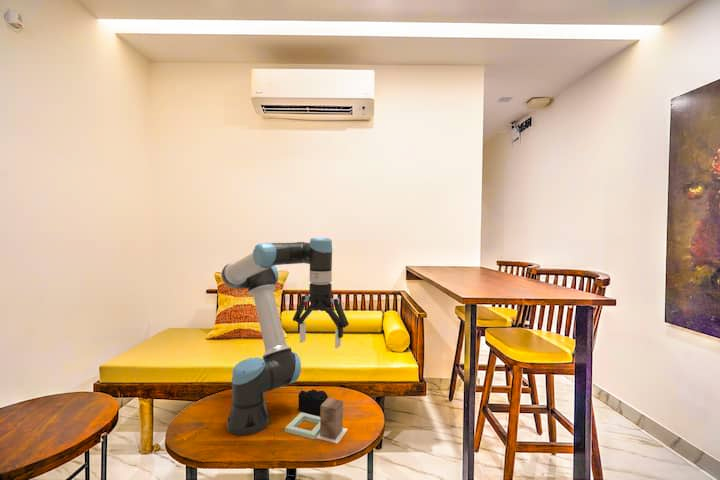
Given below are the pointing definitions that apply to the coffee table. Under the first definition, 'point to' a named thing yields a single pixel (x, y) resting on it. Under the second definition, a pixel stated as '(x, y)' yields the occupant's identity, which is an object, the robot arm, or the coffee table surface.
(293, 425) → the pocket board
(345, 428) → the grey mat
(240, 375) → the robot arm
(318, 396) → the film camera
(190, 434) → the coffee table surface
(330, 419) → the walnut block
